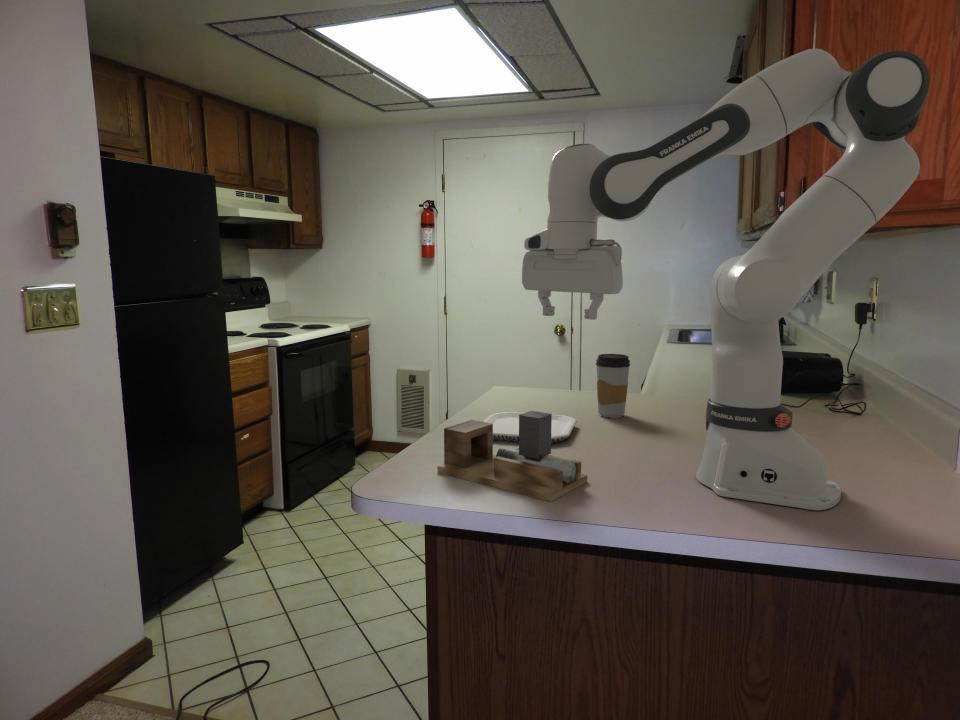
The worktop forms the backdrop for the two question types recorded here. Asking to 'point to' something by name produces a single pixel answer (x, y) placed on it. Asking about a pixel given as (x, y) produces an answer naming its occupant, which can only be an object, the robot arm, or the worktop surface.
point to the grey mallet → (537, 444)
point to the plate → (509, 426)
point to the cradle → (500, 464)
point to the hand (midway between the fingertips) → (569, 317)
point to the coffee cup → (612, 384)
